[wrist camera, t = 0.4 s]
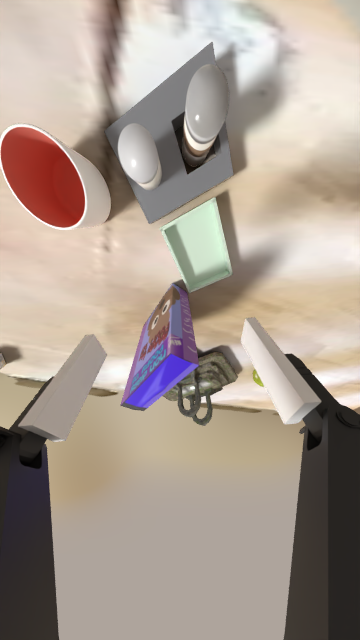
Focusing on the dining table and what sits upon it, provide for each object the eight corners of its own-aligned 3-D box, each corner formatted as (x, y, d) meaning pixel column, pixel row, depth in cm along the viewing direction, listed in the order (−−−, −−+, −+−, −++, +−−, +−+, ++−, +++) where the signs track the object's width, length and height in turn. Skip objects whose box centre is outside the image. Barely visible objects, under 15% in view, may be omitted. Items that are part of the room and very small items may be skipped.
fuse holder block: (112, 141, 23) (73, 93, 14) (206, 67, 19) (234, -62, 10) (151, 223, 29) (141, 226, 20) (227, 179, 26) (254, 159, 17)
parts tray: (160, 227, 30) (159, 228, 27) (211, 198, 27) (215, 196, 25) (188, 288, 38) (189, 293, 36) (228, 270, 36) (232, 274, 33)
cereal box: (172, 282, 37) (170, 354, 18) (187, 292, 39) (199, 366, 19) (143, 325, 45) (120, 406, 26) (156, 332, 47) (143, 412, 28)
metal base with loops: (178, 399, 76) (179, 441, 62) (135, 368, 59) (122, 417, 44) (240, 378, 66) (259, 424, 52) (211, 334, 49) (227, 383, 34)
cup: (105, 157, 24) (70, 127, 16) (118, 228, 30) (96, 232, 22) (43, 152, 23) (-26, 117, 15) (68, 224, 29) (28, 228, 21)
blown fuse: (177, 136, 23) (178, 84, 14) (203, 118, 22) (223, 49, 13) (187, 172, 25) (195, 147, 16) (211, 157, 24) (233, 122, 15)
